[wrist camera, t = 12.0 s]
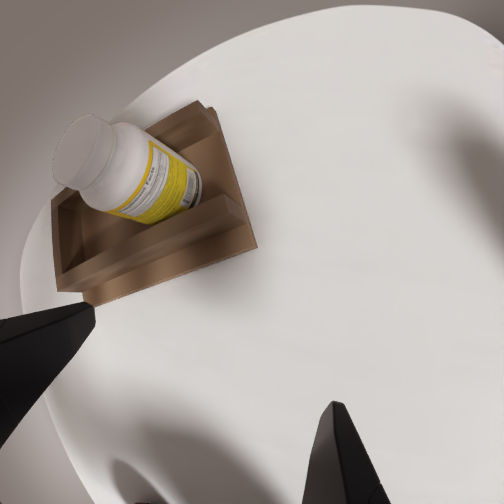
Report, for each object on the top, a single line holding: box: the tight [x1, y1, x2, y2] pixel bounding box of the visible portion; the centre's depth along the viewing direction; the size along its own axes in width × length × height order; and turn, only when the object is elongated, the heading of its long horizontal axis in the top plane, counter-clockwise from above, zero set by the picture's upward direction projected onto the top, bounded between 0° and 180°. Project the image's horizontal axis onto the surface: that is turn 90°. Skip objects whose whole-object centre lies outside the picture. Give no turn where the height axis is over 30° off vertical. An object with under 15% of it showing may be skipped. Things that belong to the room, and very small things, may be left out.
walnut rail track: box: [51, 100, 258, 307], centre depth 21 cm, size 17×12×4 cm
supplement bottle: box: [53, 114, 202, 226], centre depth 17 cm, size 5×5×10 cm
